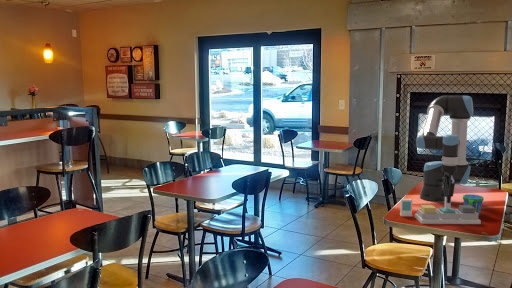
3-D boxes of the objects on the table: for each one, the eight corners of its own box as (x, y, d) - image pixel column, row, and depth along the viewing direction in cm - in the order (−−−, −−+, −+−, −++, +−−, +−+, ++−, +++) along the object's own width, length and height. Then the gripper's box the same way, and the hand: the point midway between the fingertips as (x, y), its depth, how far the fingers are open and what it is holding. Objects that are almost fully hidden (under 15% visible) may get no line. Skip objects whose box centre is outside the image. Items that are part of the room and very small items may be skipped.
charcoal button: (458, 212, 251) (458, 205, 251) (469, 212, 251) (470, 205, 251) (462, 215, 246) (463, 208, 245) (474, 215, 245) (474, 208, 245)
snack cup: (478, 219, 251) (479, 200, 250) (457, 215, 258) (458, 197, 256) (486, 213, 263) (487, 195, 262) (466, 209, 270) (467, 192, 268)
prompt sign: (399, 214, 261) (400, 198, 259) (410, 214, 260) (411, 198, 259) (401, 216, 258) (401, 200, 256) (412, 216, 257) (412, 200, 256)
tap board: (414, 217, 256) (415, 208, 255) (471, 217, 255) (471, 208, 254) (421, 223, 244) (422, 214, 243) (480, 224, 243) (481, 214, 242)
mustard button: (420, 212, 252) (420, 204, 252) (431, 212, 252) (432, 205, 252) (424, 215, 246) (424, 207, 246) (435, 215, 246) (436, 208, 246)
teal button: (439, 214, 252) (439, 207, 252) (450, 215, 252) (451, 207, 251) (443, 218, 246) (443, 210, 246) (454, 218, 246) (455, 210, 245)
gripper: (438, 162, 252) (436, 205, 255) (446, 166, 239) (444, 211, 242) (452, 162, 252) (450, 205, 255) (461, 166, 239) (459, 211, 242)
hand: (447, 208), depth 248 cm, fingers closed
